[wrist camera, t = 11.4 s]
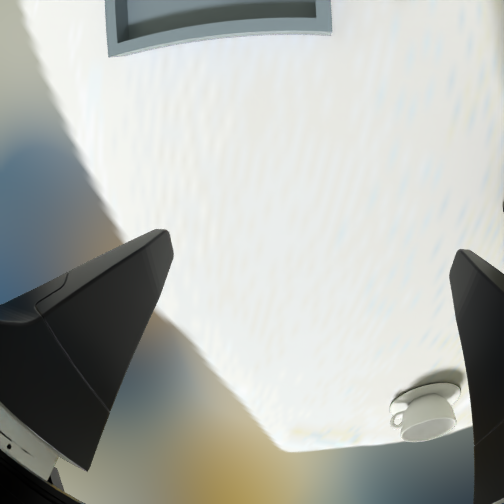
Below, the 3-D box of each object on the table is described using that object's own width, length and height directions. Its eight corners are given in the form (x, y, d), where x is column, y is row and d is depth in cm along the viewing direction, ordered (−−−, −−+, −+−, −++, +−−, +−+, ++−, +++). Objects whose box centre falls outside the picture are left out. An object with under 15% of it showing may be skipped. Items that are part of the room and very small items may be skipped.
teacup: (470, 375, 28) (478, 407, 25) (445, 413, 34) (448, 440, 30) (398, 383, 31) (401, 417, 27) (382, 419, 36) (382, 448, 32)
